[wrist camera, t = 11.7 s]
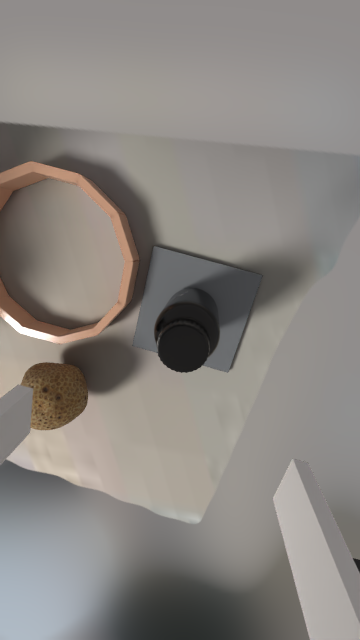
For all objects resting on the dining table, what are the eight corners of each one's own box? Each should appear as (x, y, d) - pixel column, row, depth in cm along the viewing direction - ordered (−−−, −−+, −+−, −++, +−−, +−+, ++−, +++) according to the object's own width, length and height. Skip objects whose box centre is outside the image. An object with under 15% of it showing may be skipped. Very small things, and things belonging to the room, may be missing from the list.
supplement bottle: (174, 279, 33) (156, 300, 21) (225, 296, 33) (234, 324, 21) (160, 328, 35) (137, 369, 23) (208, 343, 35) (208, 392, 23)
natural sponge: (101, 405, 40) (69, 455, 31) (47, 397, 41) (-1, 444, 31) (101, 353, 38) (66, 390, 28) (44, 345, 38) (-10, 379, 29)
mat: (133, 344, 37) (132, 345, 36) (154, 245, 32) (153, 245, 32) (227, 370, 36) (228, 372, 36) (261, 274, 32) (262, 275, 31)
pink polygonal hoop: (-16, 312, 38) (-34, 317, 35) (-13, 152, 31) (-36, 143, 28) (121, 350, 37) (114, 359, 34) (152, 196, 31) (147, 191, 28)
